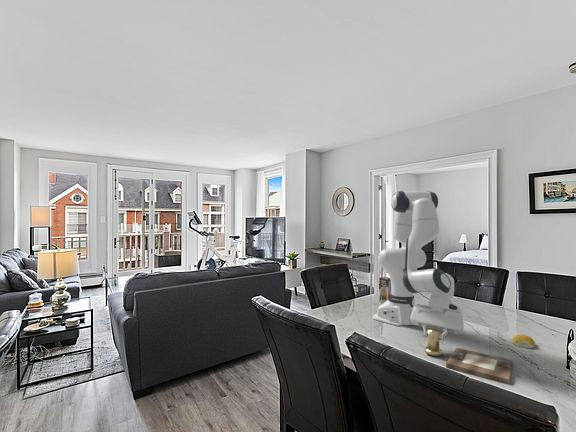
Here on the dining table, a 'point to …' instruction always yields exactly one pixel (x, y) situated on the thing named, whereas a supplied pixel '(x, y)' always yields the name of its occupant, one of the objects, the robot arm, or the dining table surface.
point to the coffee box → (384, 288)
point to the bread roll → (523, 341)
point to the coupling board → (481, 365)
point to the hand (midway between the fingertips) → (433, 337)
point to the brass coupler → (433, 343)
